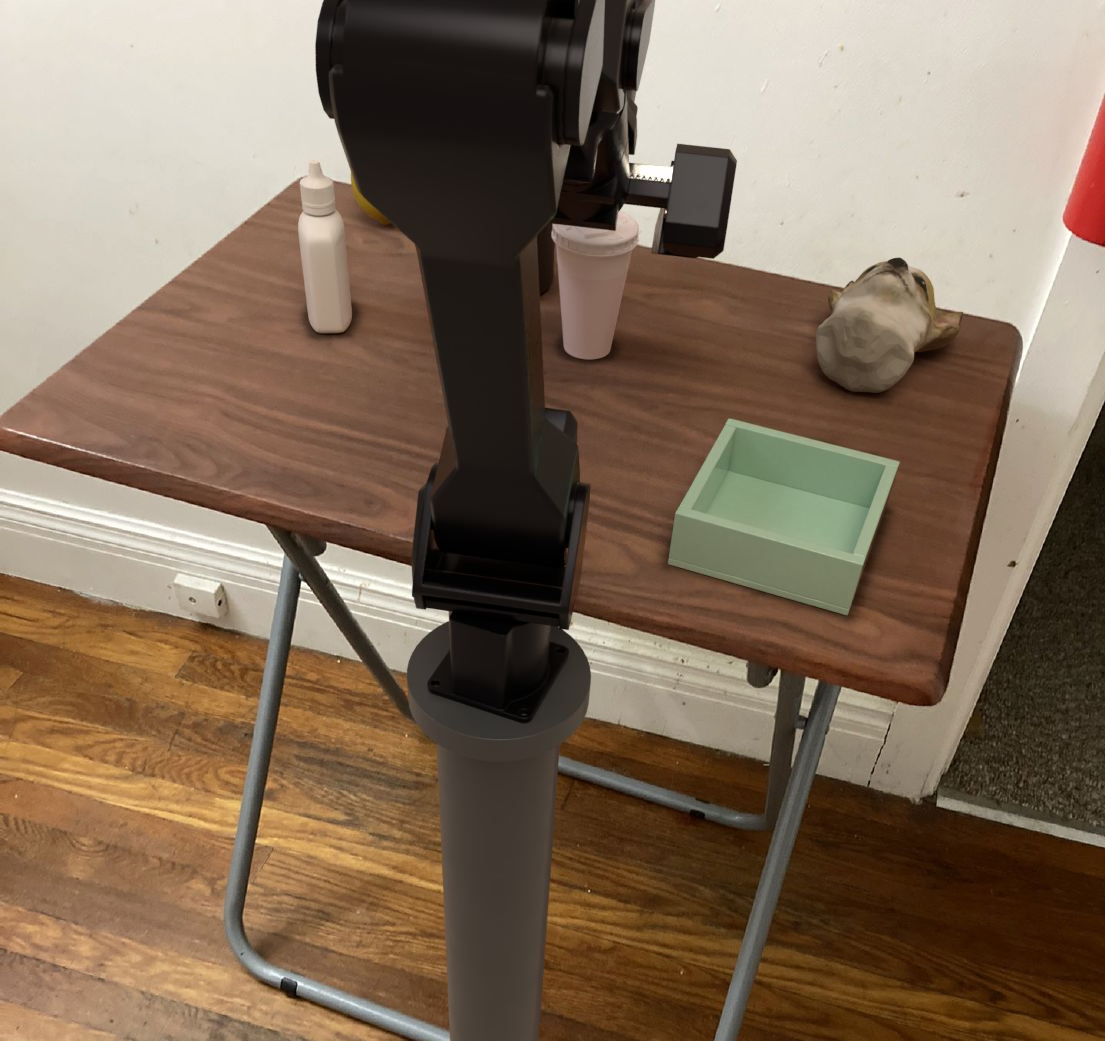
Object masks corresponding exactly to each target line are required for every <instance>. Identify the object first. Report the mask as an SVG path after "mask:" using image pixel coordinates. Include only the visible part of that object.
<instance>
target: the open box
mask: <svg viewBox="0 0 1105 1041" xmlns="http://www.w3.org/2000/svg"><path fill="white" fill-rule="evenodd" d="M900 464H901V462H900V461H899V460H895V459H892V458H887V457H884V456H880V455H876V454H872V453H868V452H863V451H861V450H856V449H852V448H848V447H844V446H840V445H836V444H833V443H828V442H824V441H820V440H817V439H813V438H809V437H805V436H801V435H796V434H794V433H790V432H785V431H781V430H777V429H773V428H769V427H766V426H761V425H757V424H754V423H750V422H745V421H743V420H738V419H734V418H728V419H727V420H726V422H725V424H724V425H723V428H722V430H721V431H720V433H719V435H718V436H717V439H716V440H715V442H714V444H713V446H712V447H711V448H710V451H709V452H708V455H707V456H706V458H705V459H704V462H703V463H702V465H701V467H700V469H699V470H698V472H697V474H696V476H695V478H694V479H693V481H692V483H691V485H690V486H689V488H688V489H687V491H686V493H685V495H684V497H683V499H682V500H681V503H680V504H679V506H678V507H677V509H676V510H675V513H674V520H673V526H672V531H671V532H672V533H671V539H670V546H669V552H668V560H667V565H670V566H673V567H676V568H680V569H683V570H687V571H691V572H694V573H698V574H700V575H705V576H707V577H711V578H715V579H718V580H721V581H725V582H729V583H732V584H735V585H739V586H742V587H746V588H749V589H753V590H756V591H759V592H764V593H766V594H770V595H773V596H778V597H781V598H784V599H787V600H791V601H795V602H799V603H800V604H801V603H802V604H805V605H808V606H812V607H816V608H818V609H819V608H820V609H822V610H825V611H830V612H833V613H837V614H840V615H843V616H849V613H850V612H851V611H850V610H851V608H852V605H853V602H854V600H855V596H856V593H857V590H858V589H859V588H858V587H859V585H860V582H861V579H862V577H863V574H864V572H865V568H866V566H867V563H868V559H869V556H870V554H871V551H872V549H873V546H874V543H875V540H876V537H877V534H878V533H879V532H878V531H879V529H880V527H881V526H880V525H881V522H882V520H883V518H884V514H885V512H886V509H887V505H888V502H889V500H890V495H891V493H892V489H893V486H894V483H895V479H896V476H897V474H898V470H899V466H900Z"/></svg>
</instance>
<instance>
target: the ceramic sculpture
mask: <svg viewBox="0 0 1105 1041" xmlns="http://www.w3.org/2000/svg"><path fill="white" fill-rule="evenodd" d="M935 299H936V298H935V289H934V285H933V283H932V281H931V279H930V278H929V277H928V275H927V274H926V273H925V272H924V271H923V270H922V269H919V268H917V267H914V266H910V265H909V264H908V263H907V261H906V260H905V259H904V258H902V257H893V258H890V259H888V260H884V261H880V262H877V263H874V264H873V265H871V266H869V267H867V268H866V269H864V270H863V272H861V274H860V275H859V276H858V277H857V278H856V279H855V280H850V281H849V282H848V283H847V284H845V286H844V288H843V289H841V290H835V289H832V290H830V291H829V293H828V295H827V302H828V306H829V310H830V312H831V314H830V316H829V317H828V318H826V319H825V320H824V321H823V322H822V323H821V324H819V325H818V327H817V328H816V332H815V353H816V358H817V362H818V364H819V368H820V369H821V371H822V373H823V374H824V375H825V376H826V377H827V378H828V379H829V380H831V381H833V382H835V383H836V384H838V385H839V386H840V387H842V388H844V389H845V390H847V391H849V392H853V393H872V394H877V393H884V392H886V391H888V390H889V389H891V388H892V387H894V386H895V385H896V384H897V383H898V382H900V381H901V380H902V379H903V377H904V376H905V375H906V374H907V372H908V370H909V369H910V368H911V366H912V365H913V363H914V360H915V353H922V352H927V351H932V350H937V349H941V348H944V347H945V346H947V345H948V344H950V343H952V341H953V340H955V339H956V338H957V336H958V335H959V333H960V331H961V327H962V326H961V324H962V321H963V316H964V311H956V312H947V313H946V312H944V311H943V310H940V309H937V306H936V300H935Z"/></svg>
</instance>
